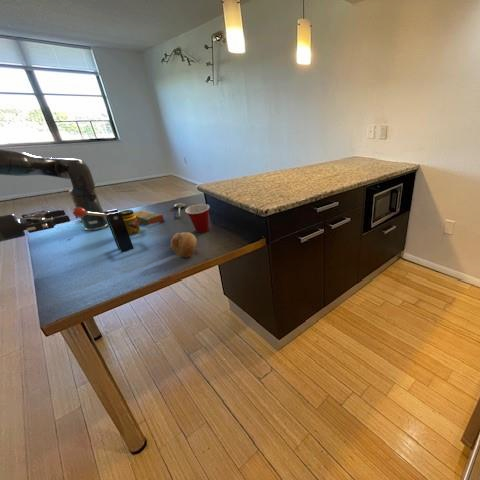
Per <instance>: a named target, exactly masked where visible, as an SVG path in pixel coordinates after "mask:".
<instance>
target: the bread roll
mask: <svg viewBox="0 0 480 480" xmlns="http://www.w3.org/2000/svg"><path fill="white" fill-rule="evenodd" d="M197 242H198V240H197V237H196V236H195V235H194V233H191V232H188V231H187V232H186V231H185V232H178V233H175V234H174V235H173V236H172V238H171V240H170V248H171V250H172V251H173V252H174V253H175V255H177V256H179V257H181V258H189V257H191V256H192V255H193V254H194V252H195V251H196V247H197V244H198V243H197Z"/></svg>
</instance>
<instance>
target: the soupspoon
mask: <svg viewBox="0 0 480 480" xmlns="http://www.w3.org/2000/svg"><path fill="white" fill-rule="evenodd" d="M185 206H187V204H186V203H180V202H179V203H175V204H174V207H175V208H178V214H177V218H178V219H181V217H182V216H181V208H183V207H185Z"/></svg>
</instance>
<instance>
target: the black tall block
mask: <svg viewBox="0 0 480 480" xmlns="http://www.w3.org/2000/svg"><path fill="white" fill-rule="evenodd" d="M103 212H104V214H106V215H107V217H106V220H107V222H108V227H109V230H110V232H111V235H112V237H113V240H114V243H115V245H116V247H117V249H118V250H119V251H120V253H124V252H127V251H131V250H133V249H135V247H134V245H133V242H132V239H131V235H129V234H128V231H127V228H126V225H125V223H124V220H123V217H122V215H121V211H120V210H118V208H114V209H110V210H105V211H103ZM109 212H113V213H110V214H109Z"/></svg>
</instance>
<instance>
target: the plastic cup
mask: <svg viewBox="0 0 480 480" xmlns="http://www.w3.org/2000/svg"><path fill="white" fill-rule="evenodd" d="M184 211H185V213H186V214H187V215H188V217H189V219H190V221H191V223H192V225H193V228H194V229H195V231H196V233H198V234H202V233H206V232H208V231H209V230H210V205H209V204H208V203H207V204H206V203H198V204H193V205H190V206H187V208H185V210H184Z"/></svg>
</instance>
